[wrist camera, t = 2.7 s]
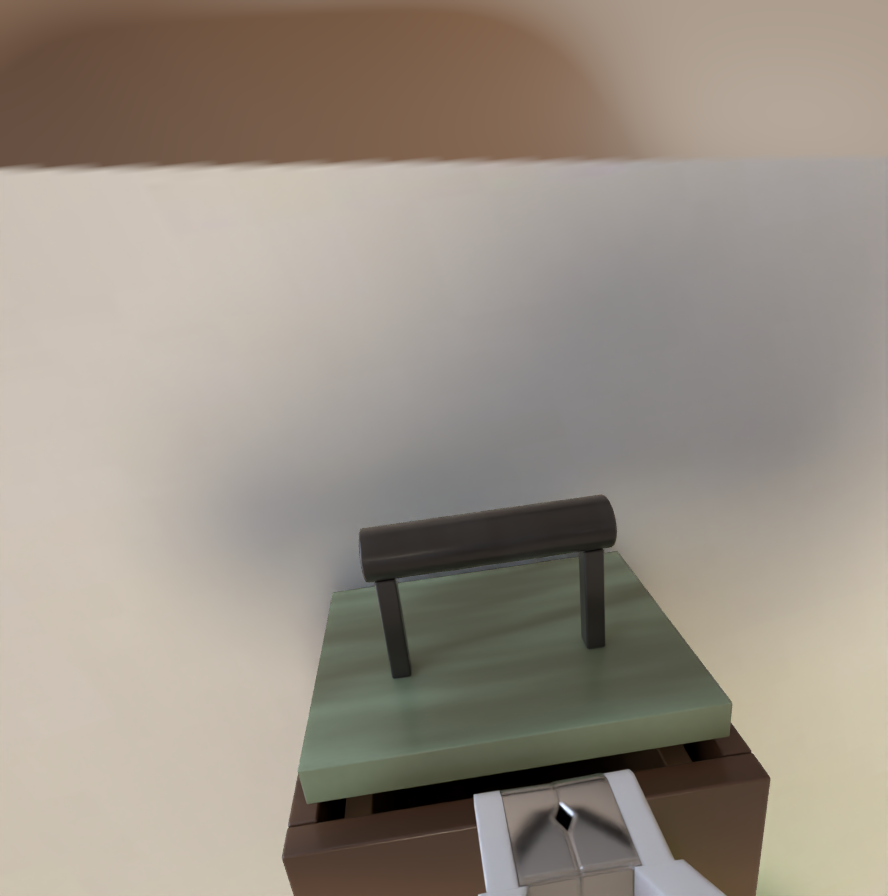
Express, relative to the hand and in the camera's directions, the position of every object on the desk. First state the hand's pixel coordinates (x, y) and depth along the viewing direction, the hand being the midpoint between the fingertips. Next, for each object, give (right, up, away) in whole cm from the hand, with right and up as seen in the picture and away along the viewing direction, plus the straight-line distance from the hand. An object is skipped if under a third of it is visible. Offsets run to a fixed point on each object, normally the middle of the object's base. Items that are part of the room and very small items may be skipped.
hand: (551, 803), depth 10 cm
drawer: (0, -2, +12) cm, 13 cm away
